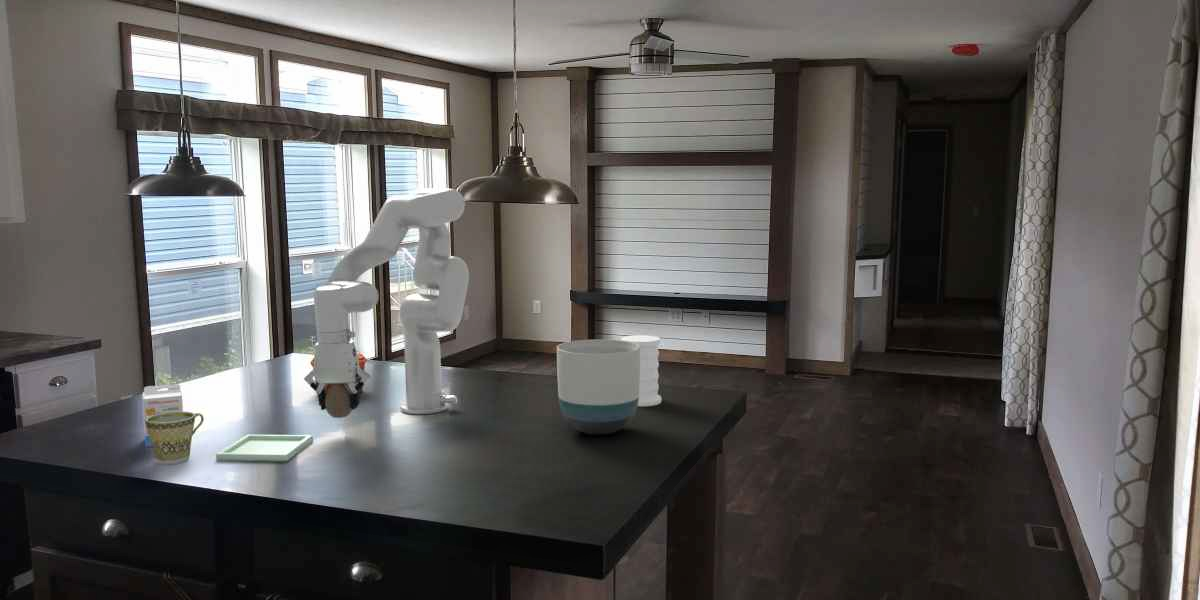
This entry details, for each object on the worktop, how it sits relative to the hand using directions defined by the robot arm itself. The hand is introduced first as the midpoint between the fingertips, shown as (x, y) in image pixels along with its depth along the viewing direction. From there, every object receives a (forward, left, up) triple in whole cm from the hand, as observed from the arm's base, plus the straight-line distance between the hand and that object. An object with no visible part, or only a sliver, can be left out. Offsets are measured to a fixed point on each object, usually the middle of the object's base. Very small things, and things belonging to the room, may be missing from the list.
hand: (339, 407), depth 223 cm
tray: (+13, +14, -7) cm, 20 cm away
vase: (0, 0, -2) cm, 2 cm away
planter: (-63, -5, -7) cm, 64 cm away
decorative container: (-73, -37, -7) cm, 82 cm away
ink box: (+41, +7, -7) cm, 42 cm away
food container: (+16, -45, -7) cm, 48 cm away
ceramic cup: (+30, +21, -7) cm, 37 cm away
